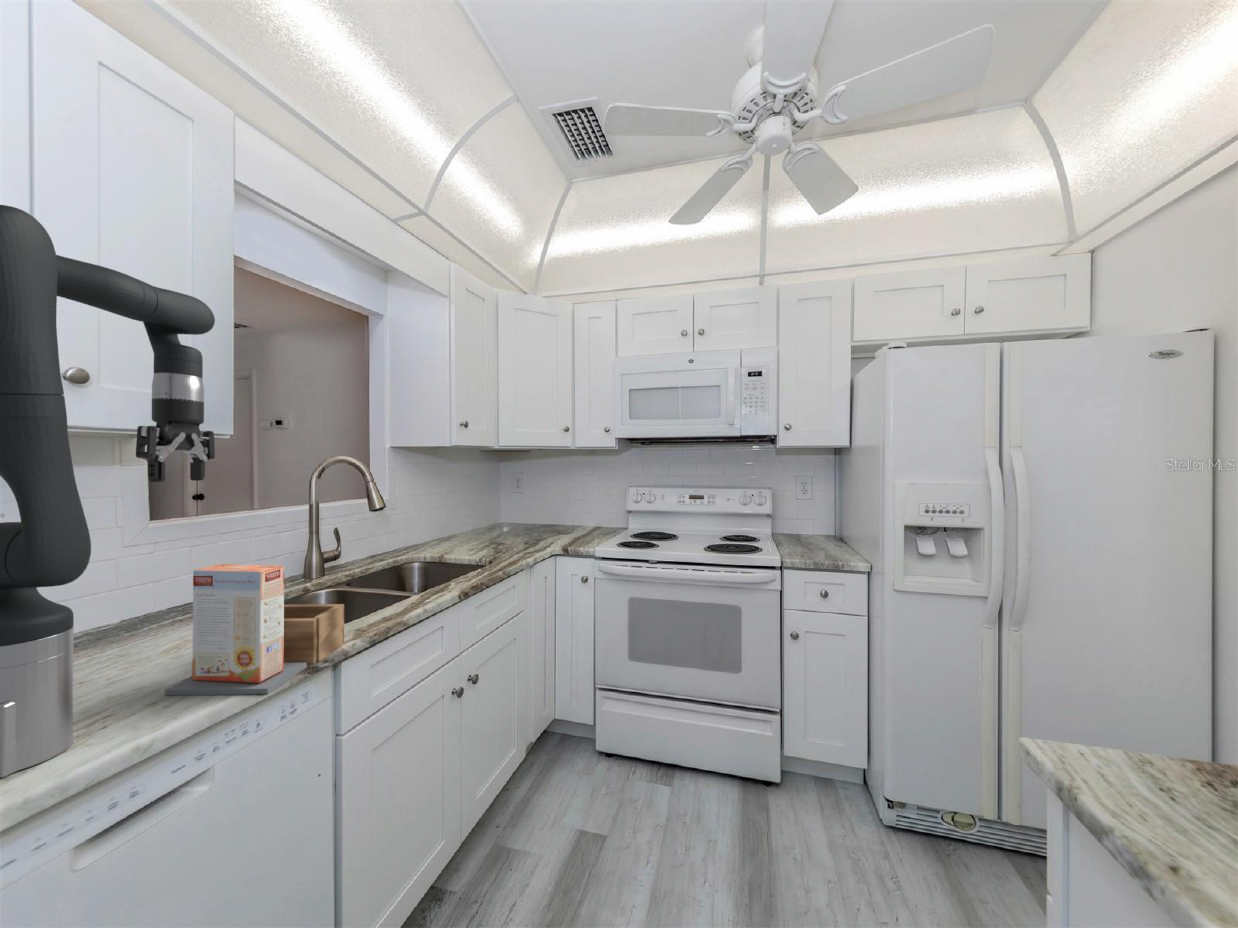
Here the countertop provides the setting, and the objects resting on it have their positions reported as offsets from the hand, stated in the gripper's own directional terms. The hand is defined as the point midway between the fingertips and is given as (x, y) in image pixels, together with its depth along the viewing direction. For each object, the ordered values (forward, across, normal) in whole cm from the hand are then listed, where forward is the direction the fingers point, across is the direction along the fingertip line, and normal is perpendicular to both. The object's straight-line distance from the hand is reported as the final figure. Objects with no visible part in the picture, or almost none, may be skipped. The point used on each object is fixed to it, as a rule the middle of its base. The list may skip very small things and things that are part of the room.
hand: (178, 481), depth 92 cm
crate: (+38, +10, -14) cm, 42 cm away
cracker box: (+37, -3, -14) cm, 40 cm away
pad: (+38, -3, -14) cm, 41 cm away
